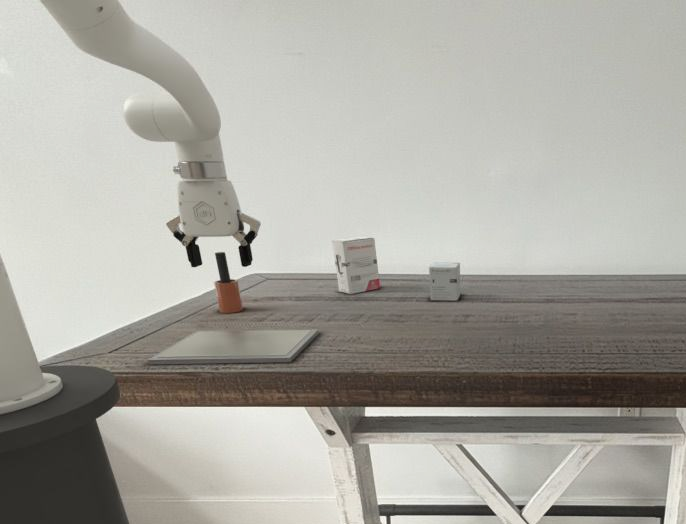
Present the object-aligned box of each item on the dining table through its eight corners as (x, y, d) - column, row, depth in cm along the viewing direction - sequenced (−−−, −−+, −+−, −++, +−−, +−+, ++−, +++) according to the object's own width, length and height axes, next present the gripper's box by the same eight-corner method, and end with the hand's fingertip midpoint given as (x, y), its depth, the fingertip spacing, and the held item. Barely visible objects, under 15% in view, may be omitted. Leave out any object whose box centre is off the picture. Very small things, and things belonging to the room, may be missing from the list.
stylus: (233, 308, 112) (222, 253, 108) (224, 308, 112) (213, 253, 108) (237, 306, 114) (226, 252, 109) (228, 306, 114) (217, 252, 109)
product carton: (430, 300, 120) (428, 266, 117) (434, 294, 126) (432, 261, 123) (458, 301, 120) (456, 266, 117) (461, 294, 126) (460, 261, 123)
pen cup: (238, 313, 111) (232, 283, 109) (216, 313, 111) (210, 283, 109) (246, 307, 115) (241, 279, 113) (225, 308, 115) (219, 279, 113)
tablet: (290, 362, 84) (289, 356, 83) (149, 364, 83) (147, 358, 83) (318, 333, 98) (318, 328, 97) (197, 335, 97) (196, 330, 97)
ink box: (368, 285, 135) (363, 235, 130) (380, 288, 132) (376, 237, 127) (337, 291, 129) (330, 239, 124) (349, 294, 126) (343, 241, 121)
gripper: (144, 173, 99) (167, 269, 106) (242, 173, 100) (259, 268, 106) (167, 172, 106) (187, 263, 113) (258, 172, 107) (273, 262, 113)
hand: (222, 265), depth 109 cm, fingers open, 9 cm apart
